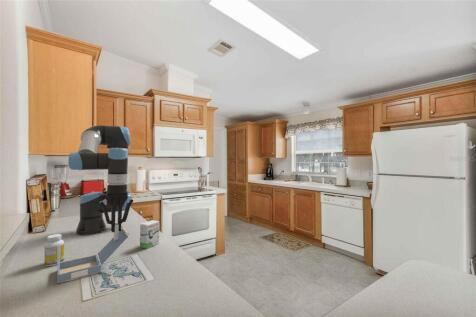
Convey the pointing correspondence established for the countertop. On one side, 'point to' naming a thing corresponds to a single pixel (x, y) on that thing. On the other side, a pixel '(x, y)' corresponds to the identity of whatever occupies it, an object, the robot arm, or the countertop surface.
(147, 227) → the ink box
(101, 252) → the lid
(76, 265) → the box
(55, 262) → the pill bottle
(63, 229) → the countertop surface
